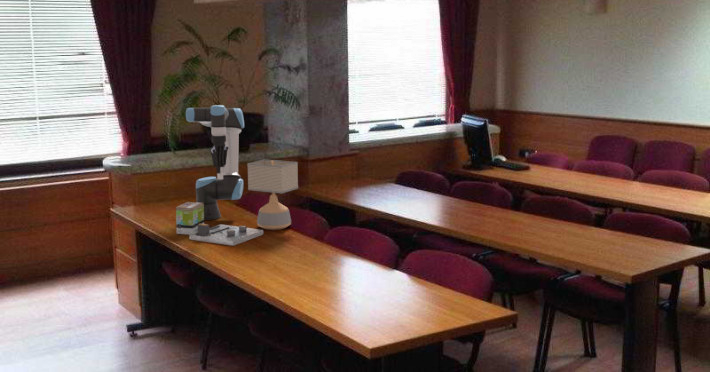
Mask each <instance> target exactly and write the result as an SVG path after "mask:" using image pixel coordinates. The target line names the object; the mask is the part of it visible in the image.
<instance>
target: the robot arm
mask: <svg viewBox="0 0 710 372" xmlns="http://www.w3.org/2000/svg"><path fill="white" fill-rule="evenodd" d="M185 120H186V122H188V123H200V124H201V125H203V126H205V127H208V128H210V129H211V143H212V144H213V145H212V149H211V148H210V149H209V151H210V154H211V160H212V164H213V167H215V168H216V176H206V177H202V178H199V179H197V180H196V182H195V193H196V194H195V195H196V196H195V197H196V199H195V200H196V202H199V203H204V221H212V220H213V221H214V220H218V219H220V218H221V217H222V214H221V212H220V209H219V208H220V207H219V206H218V200H219V201H223V200H231V201H234V200H241V198H242V195H243V191H244V179H243V178H241V175H240V174H239V150H240V149H239V148H240V147H239V146H240V145H239V144H240V143H239V141H240V140H239V138H240V137H239V134H241V132H242V129H244V128H245V120H244V113H243V110H242V109H241V108H238V107H237V108H236V107H230V108H229V107H227V108H226V106H225V105H223V104H218V105H217V104H215V105H211V106H210V107H188V108H186V110H185Z"/></svg>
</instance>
